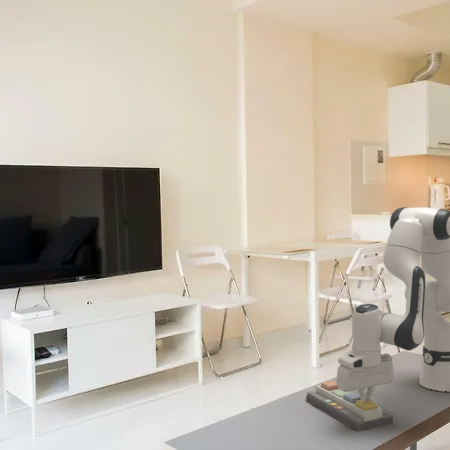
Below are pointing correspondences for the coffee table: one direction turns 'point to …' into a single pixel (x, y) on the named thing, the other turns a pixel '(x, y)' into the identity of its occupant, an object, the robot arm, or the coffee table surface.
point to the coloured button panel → (347, 410)
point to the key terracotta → (329, 385)
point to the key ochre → (366, 405)
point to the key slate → (352, 397)
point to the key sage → (339, 393)
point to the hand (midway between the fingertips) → (365, 400)
